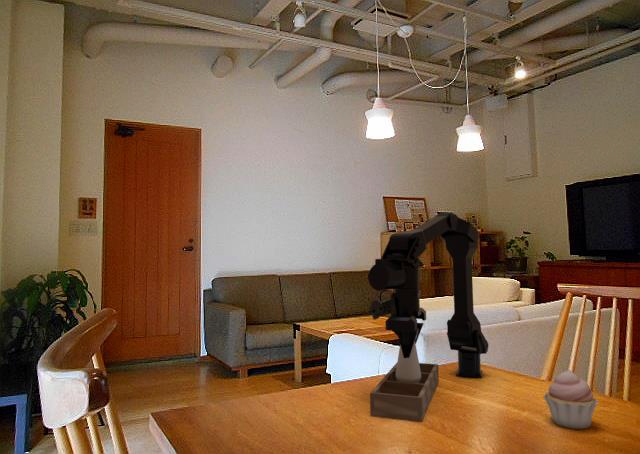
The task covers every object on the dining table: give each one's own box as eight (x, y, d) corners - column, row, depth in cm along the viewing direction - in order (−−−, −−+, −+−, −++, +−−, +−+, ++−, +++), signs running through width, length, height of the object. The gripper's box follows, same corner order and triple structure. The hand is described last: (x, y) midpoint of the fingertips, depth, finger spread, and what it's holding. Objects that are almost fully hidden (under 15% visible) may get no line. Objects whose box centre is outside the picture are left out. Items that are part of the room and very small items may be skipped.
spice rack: (398, 378, 122) (397, 361, 122) (438, 382, 119) (438, 364, 119) (370, 415, 95) (370, 393, 95) (421, 421, 91) (421, 398, 92)
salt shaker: (414, 391, 103) (413, 331, 103) (391, 386, 106) (389, 328, 107) (425, 384, 108) (424, 327, 108) (403, 380, 111) (402, 325, 112)
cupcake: (607, 424, 90) (605, 370, 90) (588, 437, 83) (586, 379, 84) (556, 411, 97) (554, 362, 97) (535, 422, 90) (534, 369, 91)
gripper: (381, 284, 120) (382, 346, 119) (361, 290, 102) (362, 363, 101) (425, 284, 116) (427, 349, 115) (413, 291, 98) (415, 367, 97)
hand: (407, 356), depth 107 cm, fingers closed on salt shaker, 3 cm apart
